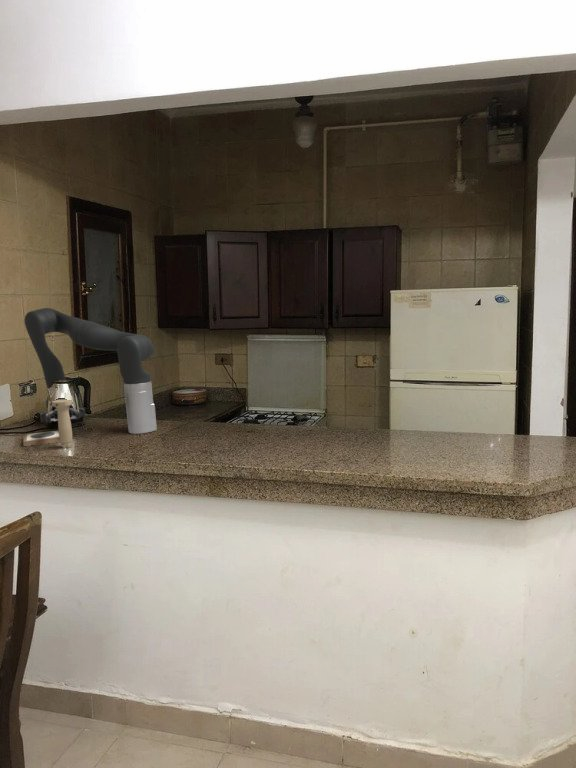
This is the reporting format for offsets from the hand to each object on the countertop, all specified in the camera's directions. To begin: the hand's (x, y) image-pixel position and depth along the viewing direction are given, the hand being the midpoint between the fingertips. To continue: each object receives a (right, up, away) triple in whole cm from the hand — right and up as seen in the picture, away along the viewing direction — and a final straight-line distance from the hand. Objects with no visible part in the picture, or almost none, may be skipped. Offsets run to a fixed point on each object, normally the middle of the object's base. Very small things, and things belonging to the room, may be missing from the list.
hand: (63, 418), depth 196 cm
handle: (+3, -9, -6) cm, 11 cm away
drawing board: (-9, -8, +5) cm, 13 cm away
